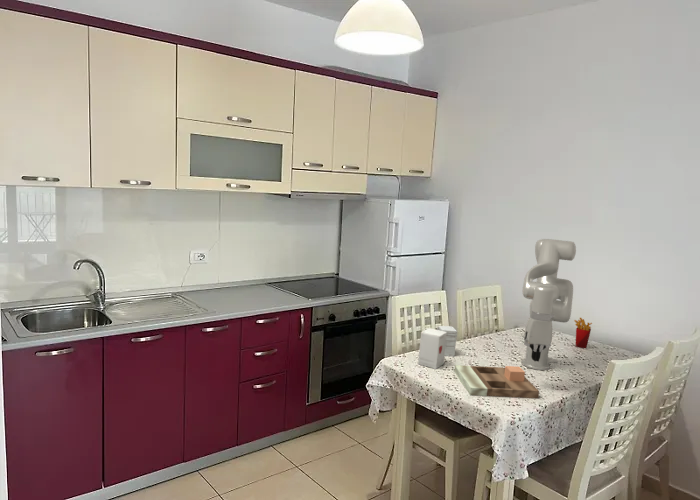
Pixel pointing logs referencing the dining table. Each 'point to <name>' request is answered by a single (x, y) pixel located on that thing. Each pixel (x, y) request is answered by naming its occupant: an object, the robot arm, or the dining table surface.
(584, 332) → the french fries
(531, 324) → the robot arm
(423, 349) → the supplement box
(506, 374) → the terracotta block
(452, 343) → the supplement box
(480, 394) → the board
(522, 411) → the dining table surface
